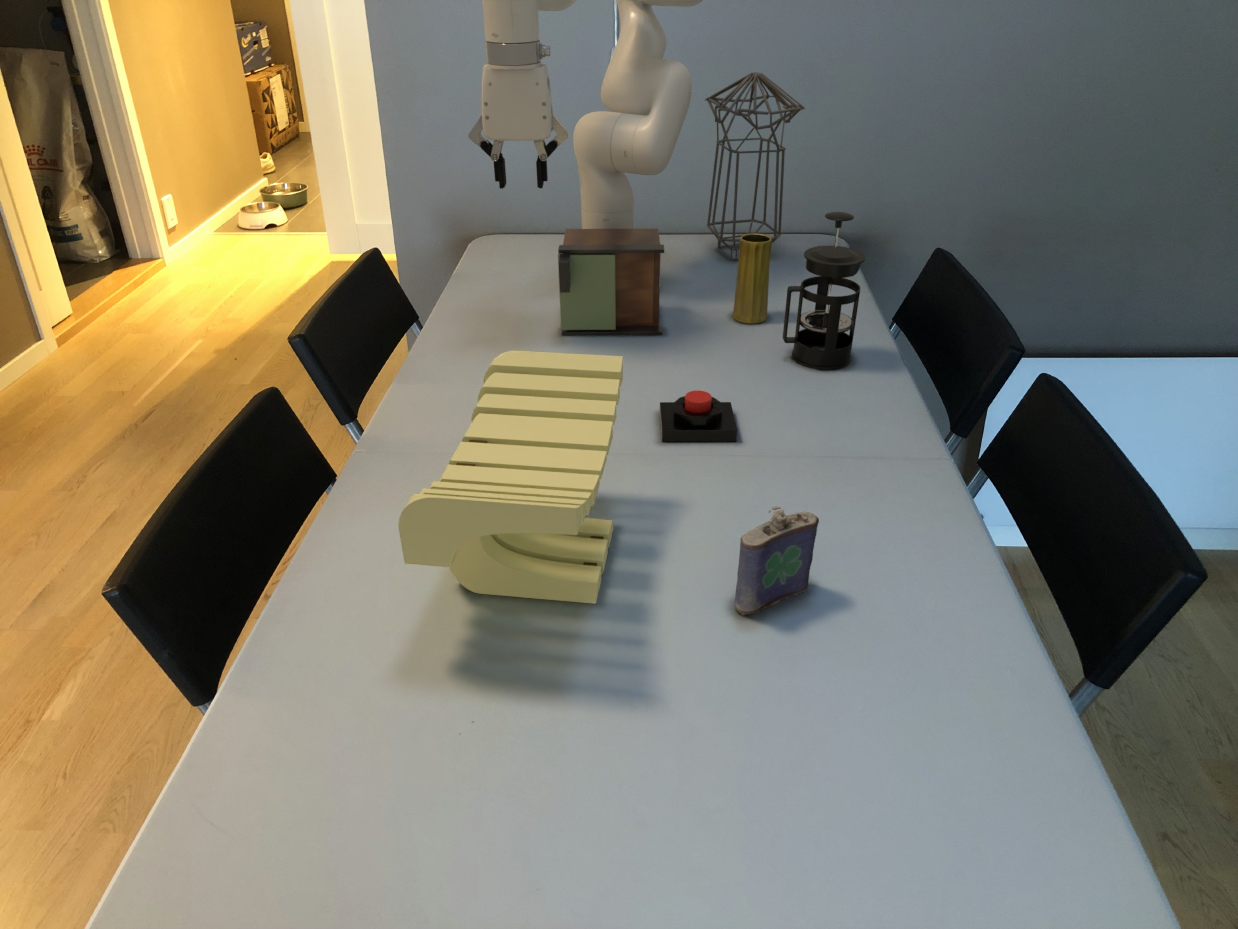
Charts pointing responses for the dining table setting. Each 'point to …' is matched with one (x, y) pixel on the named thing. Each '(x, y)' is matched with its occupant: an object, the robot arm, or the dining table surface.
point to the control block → (697, 423)
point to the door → (587, 291)
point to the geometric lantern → (760, 79)
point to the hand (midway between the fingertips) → (521, 184)
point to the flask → (775, 560)
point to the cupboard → (625, 275)
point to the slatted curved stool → (525, 482)
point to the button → (698, 401)
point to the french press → (825, 322)
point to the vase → (752, 279)
